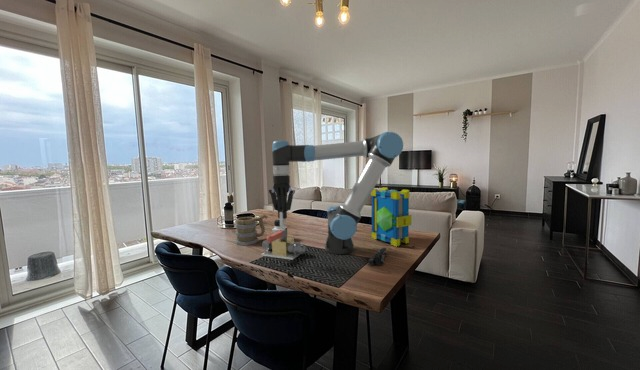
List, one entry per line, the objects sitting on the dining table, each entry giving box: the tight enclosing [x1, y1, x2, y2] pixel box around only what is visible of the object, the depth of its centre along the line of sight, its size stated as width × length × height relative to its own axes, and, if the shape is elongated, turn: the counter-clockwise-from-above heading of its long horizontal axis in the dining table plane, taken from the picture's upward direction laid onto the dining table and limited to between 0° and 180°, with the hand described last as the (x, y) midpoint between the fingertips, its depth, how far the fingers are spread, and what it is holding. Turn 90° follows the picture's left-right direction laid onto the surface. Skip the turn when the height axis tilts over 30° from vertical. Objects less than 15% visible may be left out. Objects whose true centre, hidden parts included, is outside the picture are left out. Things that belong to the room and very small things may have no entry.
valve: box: [260, 237, 307, 261], centre depth 138 cm, size 23×13×7 cm, turn 67°
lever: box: [266, 229, 288, 243], centre depth 132 cm, size 15×4×4 cm, turn 157°
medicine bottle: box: [271, 218, 288, 234], centre depth 163 cm, size 7×7×12 cm
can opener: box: [368, 247, 388, 266], centre depth 125 cm, size 18×7×6 cm, turn 151°
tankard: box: [234, 214, 269, 246], centre depth 161 cm, size 20×13×15 cm, turn 119°
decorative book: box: [370, 186, 412, 248], centre depth 153 cm, size 14×23×30 cm, turn 30°
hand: (282, 225), depth 126 cm, fingers closed
